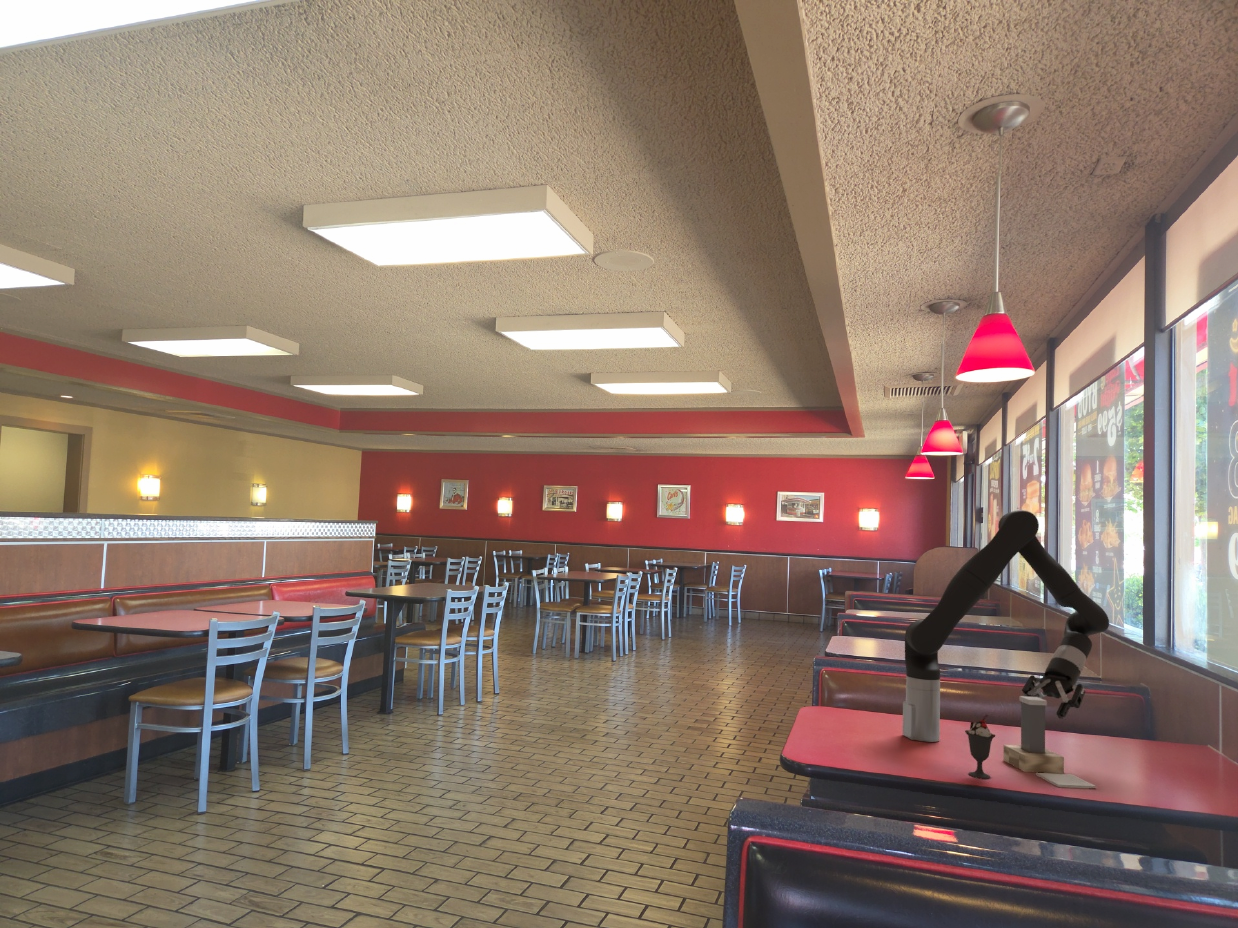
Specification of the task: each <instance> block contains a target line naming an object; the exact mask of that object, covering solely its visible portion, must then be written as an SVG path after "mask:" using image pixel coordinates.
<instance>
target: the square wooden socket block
mask: <svg viewBox="0 0 1238 928" xmlns="http://www.w3.org/2000/svg"><path fill="white" fill-rule="evenodd" d="M1003 761H1005V762H1006V763H1008V764H1009V765H1011V766H1012V767H1015V768H1017V769H1018V768H1019V769H1018V770H1020V769H1021V771H1022V770H1023V771H1022V772H1024V773H1038V772H1044V773H1053V774H1065V757H1064V756H1062V755H1060V754H1059V753H1057V752H1054V751H1052V750H1049V749H1047V748H1045V754H1040V753H1028V752H1026V751H1024V750H1022V749H1021V744H1020V745H1019V744H1018V745H1015V744H1003Z"/></svg>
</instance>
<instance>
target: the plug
mask: <svg viewBox="0 0 1238 928" xmlns="http://www.w3.org/2000/svg"><path fill="white" fill-rule="evenodd" d="M1018 698H1019V699H1018V701H1019V702H1020V745H1021V749H1022V750H1024V751H1026V752H1028V753H1040V754H1045V749H1046V706H1048V701H1047V700H1046V699H1044V698H1038V697H1027V696H1025V695H1020V696H1018Z"/></svg>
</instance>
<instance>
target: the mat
mask: <svg viewBox="0 0 1238 928" xmlns="http://www.w3.org/2000/svg"><path fill="white" fill-rule="evenodd" d="M1035 773H1036V776H1037V777H1038V778H1040V777H1042V778H1043V780H1044V779H1045V782H1046V781H1047V782H1048V781H1049V782H1048V783H1049V784H1052V785H1054V786H1055V787H1057V788H1067V789H1068V788H1070V789H1071V788H1072V789H1089V788H1096V789H1097V786H1096V785H1095V784H1092V783H1091V782H1088V781H1086V780H1084V779H1082V778H1080V777H1078V776H1076V775H1075V774H1072V773H1071V774H1070V773H1064V774H1061V773H1038V772H1035ZM1042 778H1041V779H1042Z"/></svg>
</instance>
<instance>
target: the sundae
mask: <svg viewBox="0 0 1238 928" xmlns="http://www.w3.org/2000/svg"><path fill="white" fill-rule="evenodd" d="M988 717H989V715H988V714H985V715H984V716H983V718H982V719H980V720H979V721H975V722H974V721H971V722H970V727H969V730H968V729H965V730H964V732H965V734H966V735H967V738H968V744H969V745H968V746H969V752H970V755H971V756H972V758H973V759H974V760H975V761H976V770H975V771H969V772H968V775H969V776H970V777H972V778H975V777H977V778H976V779H980V778H982V779H981V780H990V779H991V778H992V776H991V775H990V774H987V773H985V772H984V769H983V762H984V761H986V760H987V759H988V758H990V757H989V755H990V752H991V744H992V741H993V739H994V738H995V737H996V734H993V733H992V732H991V731H990V729H989V728H988V725H987V723H986V720H985V719H986V718H988ZM989 778H990V779H989Z"/></svg>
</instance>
